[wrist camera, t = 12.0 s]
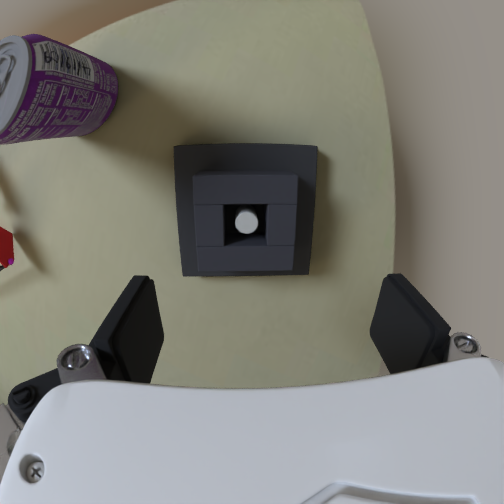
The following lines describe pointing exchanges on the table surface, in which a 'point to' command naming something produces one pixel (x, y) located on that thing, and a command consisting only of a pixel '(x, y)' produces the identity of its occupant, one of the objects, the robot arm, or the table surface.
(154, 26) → the table surface
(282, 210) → the dark grey socket block
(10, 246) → the glasses
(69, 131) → the beverage can
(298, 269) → the black base pad
